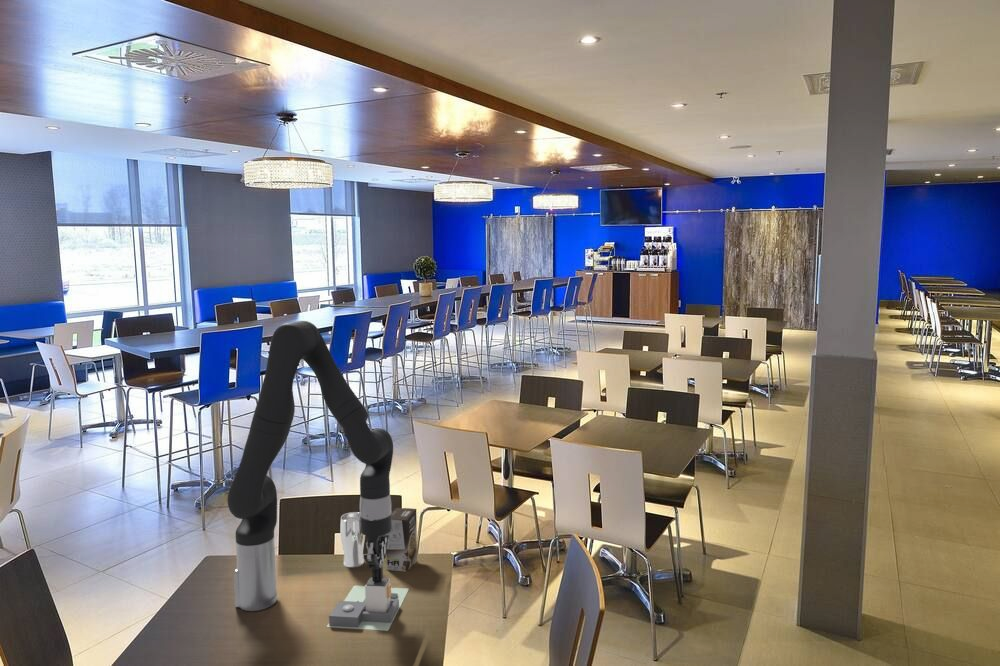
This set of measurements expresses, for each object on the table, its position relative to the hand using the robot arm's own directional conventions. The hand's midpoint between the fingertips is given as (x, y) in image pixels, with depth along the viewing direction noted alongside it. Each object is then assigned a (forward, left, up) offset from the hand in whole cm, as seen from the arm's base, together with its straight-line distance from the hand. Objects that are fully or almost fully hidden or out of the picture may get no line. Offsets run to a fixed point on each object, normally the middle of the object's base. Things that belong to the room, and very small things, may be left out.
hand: (377, 580), depth 162 cm
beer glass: (-15, +26, -10) cm, 32 cm away
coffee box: (-1, +27, -10) cm, 29 cm away
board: (-3, +3, -10) cm, 11 cm away
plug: (0, 0, -9) cm, 9 cm away
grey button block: (-7, -1, -9) cm, 11 cm away
